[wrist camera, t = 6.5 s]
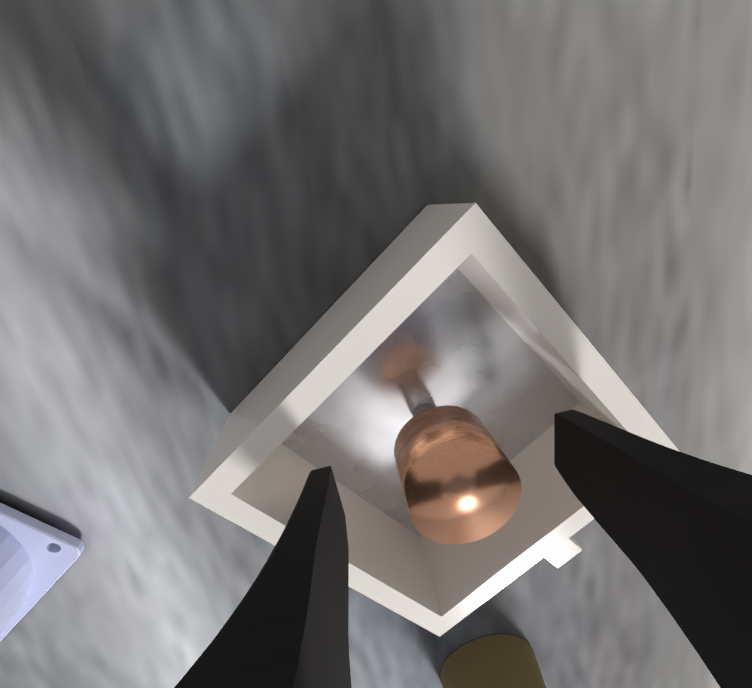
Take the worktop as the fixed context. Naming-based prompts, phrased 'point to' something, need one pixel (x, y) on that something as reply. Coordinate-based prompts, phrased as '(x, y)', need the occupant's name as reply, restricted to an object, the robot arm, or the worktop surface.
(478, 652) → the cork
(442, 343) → the copper knob lid
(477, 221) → the white shallow open box
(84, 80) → the worktop surface
